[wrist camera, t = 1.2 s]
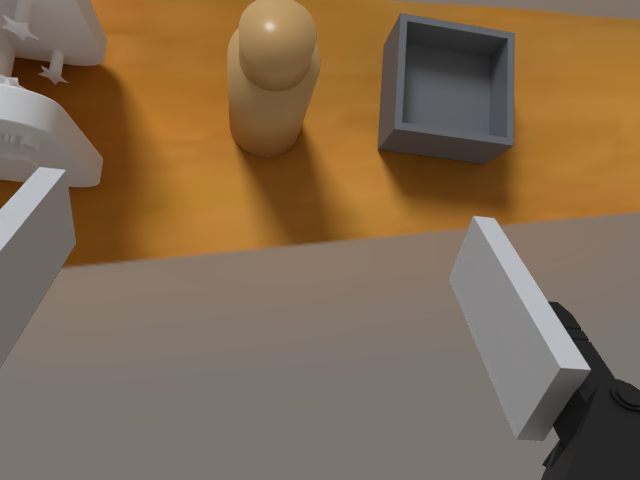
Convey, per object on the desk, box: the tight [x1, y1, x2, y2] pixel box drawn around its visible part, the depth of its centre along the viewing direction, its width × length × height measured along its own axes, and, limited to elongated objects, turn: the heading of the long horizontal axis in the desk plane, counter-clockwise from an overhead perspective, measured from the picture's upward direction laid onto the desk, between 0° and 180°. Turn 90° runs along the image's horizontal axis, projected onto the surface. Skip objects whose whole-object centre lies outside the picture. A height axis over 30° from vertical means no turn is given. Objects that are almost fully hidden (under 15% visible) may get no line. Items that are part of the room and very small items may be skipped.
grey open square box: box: [378, 13, 515, 164], centre depth 36 cm, size 8×8×4 cm
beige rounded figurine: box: [227, 0, 321, 158], centre depth 30 cm, size 5×5×12 cm
